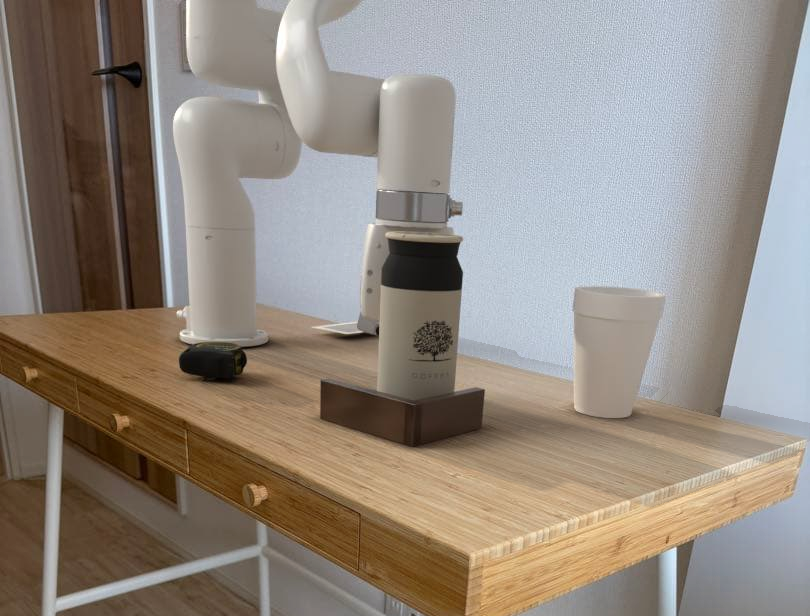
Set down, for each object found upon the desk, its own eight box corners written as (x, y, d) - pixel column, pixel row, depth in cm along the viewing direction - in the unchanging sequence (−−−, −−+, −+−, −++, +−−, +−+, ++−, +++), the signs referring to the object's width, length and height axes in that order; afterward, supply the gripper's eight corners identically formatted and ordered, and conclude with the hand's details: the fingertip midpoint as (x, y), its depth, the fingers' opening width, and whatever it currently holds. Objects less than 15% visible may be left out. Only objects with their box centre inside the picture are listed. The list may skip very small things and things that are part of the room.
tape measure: (176, 380, 97) (174, 348, 95) (203, 369, 103) (201, 338, 102) (231, 386, 96) (230, 353, 94) (254, 374, 102) (254, 343, 100)
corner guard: (319, 418, 84) (320, 379, 83) (390, 403, 92) (392, 367, 90) (412, 447, 77) (414, 404, 75) (481, 428, 84) (485, 389, 82)
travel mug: (372, 407, 90) (378, 230, 83) (444, 408, 91) (456, 233, 84) (380, 427, 82) (388, 234, 75) (459, 427, 84) (474, 238, 77)
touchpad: (310, 334, 131) (310, 320, 130) (373, 326, 142) (374, 313, 141) (346, 341, 126) (347, 327, 126) (409, 332, 137) (409, 319, 136)
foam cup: (544, 402, 96) (558, 285, 91) (610, 399, 99) (627, 286, 94) (593, 424, 88) (611, 297, 83) (662, 419, 91) (684, 297, 86)
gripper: (478, 214, 90) (465, 382, 97) (340, 206, 89) (337, 376, 96) (488, 216, 83) (472, 397, 90) (338, 208, 82) (335, 391, 89)
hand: (402, 386), depth 93 cm, fingers closed
